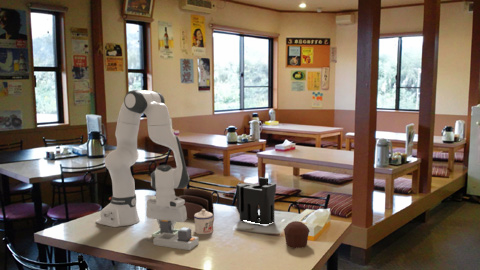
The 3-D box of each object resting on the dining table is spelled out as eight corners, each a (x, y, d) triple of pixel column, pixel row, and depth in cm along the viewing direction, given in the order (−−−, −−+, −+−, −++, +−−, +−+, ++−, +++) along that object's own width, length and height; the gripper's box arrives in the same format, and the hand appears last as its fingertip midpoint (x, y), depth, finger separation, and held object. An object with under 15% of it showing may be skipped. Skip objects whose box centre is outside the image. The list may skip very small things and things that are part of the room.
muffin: (283, 239, 197) (282, 218, 196) (307, 239, 197) (307, 218, 196) (285, 249, 186) (284, 227, 184) (311, 249, 185) (311, 227, 184)
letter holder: (185, 211, 244) (184, 186, 243) (214, 216, 234) (213, 191, 232) (173, 216, 236) (172, 190, 234) (202, 221, 226) (202, 195, 224)
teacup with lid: (205, 237, 202) (204, 213, 200) (190, 234, 207) (189, 210, 206) (221, 230, 212) (220, 207, 210) (206, 227, 217) (205, 204, 215)
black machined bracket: (267, 227, 214) (267, 184, 211) (233, 220, 226) (232, 179, 223) (279, 221, 224) (279, 179, 221) (246, 214, 236) (246, 174, 233)
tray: (151, 238, 202) (151, 234, 202) (163, 231, 211) (163, 227, 211) (170, 240, 198) (170, 236, 198) (181, 233, 208) (181, 229, 207)
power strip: (142, 245, 194) (141, 235, 193) (152, 239, 201) (152, 229, 200) (189, 252, 184) (189, 242, 184) (198, 245, 192) (198, 235, 191)
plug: (160, 235, 204) (159, 219, 203) (165, 232, 208) (164, 217, 207) (168, 236, 202) (167, 220, 201) (173, 233, 206) (172, 218, 205)
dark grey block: (178, 246, 189) (177, 229, 188) (183, 243, 192) (182, 226, 192) (187, 247, 187) (186, 230, 186) (191, 244, 191) (191, 227, 190)
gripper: (142, 200, 204) (144, 228, 206) (181, 204, 196) (182, 233, 198) (150, 196, 210) (151, 224, 211) (187, 200, 202) (188, 229, 204)
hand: (166, 229), depth 205 cm, fingers closed on plug, 4 cm apart
